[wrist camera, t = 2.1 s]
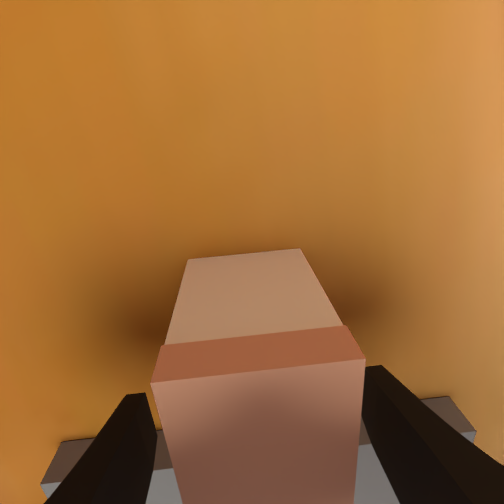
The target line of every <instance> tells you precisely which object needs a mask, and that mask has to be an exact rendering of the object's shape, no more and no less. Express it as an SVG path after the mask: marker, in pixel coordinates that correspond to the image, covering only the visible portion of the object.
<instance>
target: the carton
mask: <svg viewBox="0 0 504 504" xmlns="http://www.w3.org/2000/svg"><path fill="white" fill-rule="evenodd" d="M365 363H366V358H365V356H364V355H363V353H362V351H361V349H360V348H359V346H358V344H357V343H356V341H355V339H354V337H353V336H352V334H351V332H350V330H349V329H348V327H347V325H343V324H342V322H341V320H340V318H339V317H338V315H337V313H336V311H335V309H334V308H333V306H332V304H331V302H330V301H329V299H328V297H327V295H326V293H325V292H324V290H323V288H322V286H321V285H320V283H319V281H318V279H317V277H316V276H315V274H314V272H313V270H312V269H311V267H310V265H309V263H308V261H307V260H306V258H305V256H304V254H303V253H302V251H301V249H300V248H298V249H287V250H277V251H267V252H257V253H247V254H237V255H227V256H217V257H206V258H196V259H188V261H187V264H186V268H185V272H184V275H183V279H182V282H181V286H180V290H179V293H178V297H177V301H176V304H175V308H174V311H173V315H172V319H171V322H170V326H169V329H168V333H167V337H166V340H165V344H164V345H161V348H160V351H159V355H158V358H157V362H156V365H155V369H154V372H153V376H152V379H151V382H150V384H151V387H152V391H153V395H154V399H155V402H156V406H157V410H158V413H159V417H160V421H161V425H162V428H163V432H164V436H165V440H166V443H167V447H168V451H169V454H170V458H171V462H172V466H173V469H174V473H175V477H176V481H177V484H178V488H179V492H180V495H181V499H182V503H183V504H354V494H355V482H356V470H357V458H358V447H359V435H360V423H361V411H362V399H363V387H364V375H365Z"/></svg>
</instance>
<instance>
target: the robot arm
mask: <svg viewBox="0 0 504 504" xmlns="http://www.w3.org/2000/svg"><path fill="white" fill-rule="evenodd" d="M361 417H362V419H363V422H364V425H365V428H366V431H367V434H368V436H369V439H370V442H371V444H372V447H373V449H374V451H375V453H376V455H377V457H378V459H379V461H380V464H381V466H382V468H383V470H384V472H385V474H386V476H387V478H388V480H389V482H390V484H391V486H392V489H393V491H394V493H395V495H396V497H397V499H398V501H399V503H400V504H504V466H503V465H501V464H500V463H498V462H497V461H495V460H494V459H493V458H491V457H490V456H489V455H487V454H486V453H485V452H483V451H482V450H481V449H479V448H478V447H477V446H475V445H474V444H473V443H472V442H470V441H469V440H468V439H466V438H465V437H464V436H463V435H461V434H460V433H459V432H458V431H456V430H455V429H454V428H453V427H451V426H450V425H449V424H448V423H447V422H445V421H444V420H443V419H442V418H441V417H439V416H438V415H437V414H436V413H435V412H434V411H432V410H431V409H430V408H429V407H428V406H427V405H425V404H424V403H423V402H422V401H421V400H420V399H419V398H417V397H416V396H415V395H414V394H413V393H412V392H411V391H410V390H408V389H407V388H406V387H405V386H404V385H403V384H402V383H401V382H400V381H399V380H397V379H396V378H395V377H394V376H393V375H392V374H391V373H390V372H389V371H388V370H386V369H385V368H384V367H383V366H382V365H378V366H369V367H365V375H364V387H363V399H362V411H361ZM157 437H158V435H157V432H156V428H155V425H154V421H153V418H152V414H151V411H150V407H149V404H148V400H147V397H146V393H137V394H128V395H126V396H125V397H124V398H123V399H122V401H121V402H120V404H119V405H118V407H117V408H116V409H115V411H114V412H113V414H112V415H111V417H110V418H109V419H108V421H107V422H106V424H105V425H104V426H103V428H102V429H101V431H100V432H99V433H98V435H97V436H96V438H95V439H94V440H93V442H92V443H91V444H90V446H89V447H88V448H87V450H86V451H85V452H84V454H83V455H82V456H81V458H80V459H79V460H78V462H77V463H76V464H75V466H74V467H73V468H72V469H71V471H70V472H69V473H68V474H67V476H66V477H65V478H64V479H63V481H62V482H61V483H60V484H59V486H58V487H57V488H56V489H55V491H54V492H53V493H52V494H51V496H50V497H49V498H48V499H47V500H46V502H45V503H44V504H146V500H147V495H148V491H149V487H150V483H151V478H152V474H153V468H154V461H155V454H156V446H157Z"/></svg>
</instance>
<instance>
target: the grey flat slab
mask: <svg viewBox="0 0 504 504" xmlns="http://www.w3.org/2000/svg"><path fill="white" fill-rule="evenodd" d="M421 401H422V402H423V403H424V404H425V405H427V406H428V407H429V408H430V409H431V410H432V411H434V412H435V413H436V414H437V415H438V416H439V417H441V418H442V419H443V420H444V421H445V422H447V423H448V424H449V425H450V426H451V427H453V428H454V429H455V430H456V431H458V432H459V433H460V434H461V435H463V436H464V437H465V438H466V439H468V440H469V441H470V442H472V443H473V441H474V438H475V435H476V430H475V429H474V427H473V426H472V425H471V424H470V422H469V421H468V420H467V419H466V417H465V416H464V415H463V413H462V412H461V411H460V410H459V408H458V407H457V406H456V405H455V403H454V402H453V401H452V400H451V398H450V397H440V398H432V399H423V400H421ZM156 432H157V435H158V437H157V446H156V454H155V461H154V468H153V474H152V478H151V483H150V487H149V491H148V495H147V500H146V504H183V503H182V499H181V495H180V492H179V488H178V484H177V481H176V477H175V473H174V469H173V466H172V462H171V458H170V454H169V451H168V447H167V443H166V440H165V436H164V432H163V430H160V431H156ZM94 439H95V438H92V439H83V440H75V441H66V442H61V444H60V446H59V448H58V450H57V452H56V454H55V456H54V458H53V460H52V462H51V464H50V466H49V468H48V470H47V472H46V474H45V476H44V478H43V480H42V482H41V484H40V485H41V487H42V489H43V491H44V493H45V495H46V496H47V498H49V497H50V496H51V494H52V493H53V492H54V491H55V489H56V488H57V487H58V486H59V484H60V483H61V482H62V481H63V479H64V478H65V477H66V476H67V474H68V473H69V472H70V471H71V469H72V468H73V467H74V466H75V464H76V463H77V462H78V460H79V459H80V458H81V456H82V455H83V454H84V452H85V451H86V450H87V448H88V447H89V446H90V444H91V443H92V442H93V440H94ZM354 504H400V503H399V501H398V499H397V497H396V495H395V493H394V491H393V489H392V486H391V484H390V482H389V480H388V478H387V476H386V474H385V472H384V470H383V468H382V466H381V464H380V461H379V459H378V457H377V455H376V453H375V451H374V449H373V447H372V444H371V442H370V439H369V436H368V434H367V431H366V428H365V425H364V422H363V419H362V417H361V423H360V435H359V447H358V458H357V470H356V482H355V494H354Z"/></svg>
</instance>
